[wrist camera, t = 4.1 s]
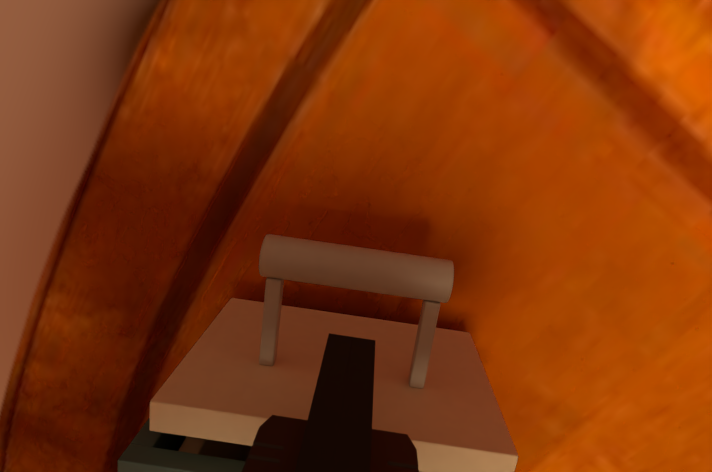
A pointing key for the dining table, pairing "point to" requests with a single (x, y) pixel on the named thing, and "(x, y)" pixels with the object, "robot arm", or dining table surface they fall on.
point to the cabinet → (169, 455)
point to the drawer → (305, 353)
